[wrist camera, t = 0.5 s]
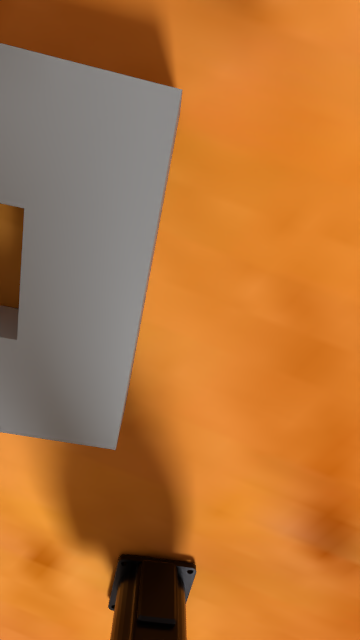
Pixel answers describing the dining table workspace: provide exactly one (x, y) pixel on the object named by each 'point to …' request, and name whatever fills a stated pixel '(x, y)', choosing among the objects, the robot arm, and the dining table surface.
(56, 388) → the socket block
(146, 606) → the robot arm
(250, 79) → the dining table surface
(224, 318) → the dining table surface
